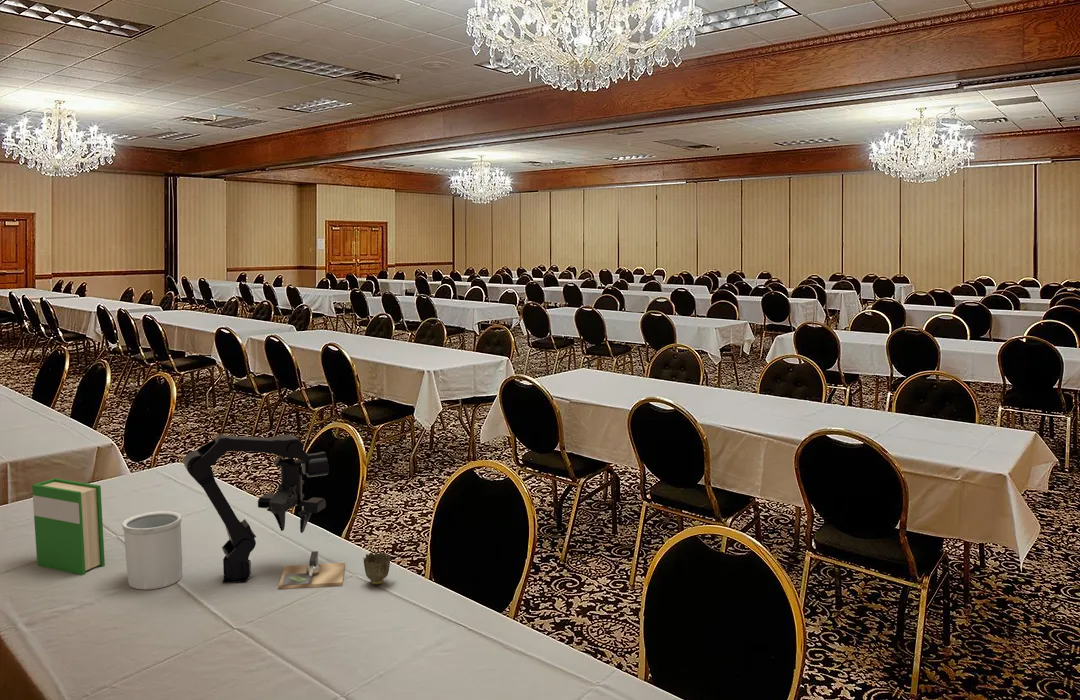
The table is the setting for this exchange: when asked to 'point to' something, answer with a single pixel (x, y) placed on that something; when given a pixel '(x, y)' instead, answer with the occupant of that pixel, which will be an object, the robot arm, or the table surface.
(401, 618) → the table surface
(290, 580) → the tuner board
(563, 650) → the table surface
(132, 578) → the utensil holder
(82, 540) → the hardback book
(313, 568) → the peg knob
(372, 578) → the cup
